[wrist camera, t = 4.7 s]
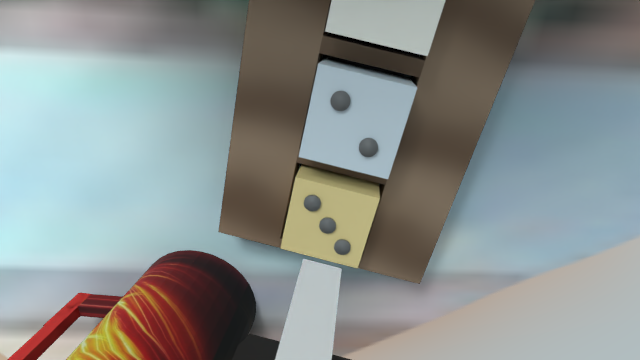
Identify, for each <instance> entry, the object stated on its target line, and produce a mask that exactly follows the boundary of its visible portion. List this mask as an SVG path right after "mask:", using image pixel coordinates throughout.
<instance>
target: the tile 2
mask: <svg viewBox="0 0 640 360" xmlns="http://www.w3.org/2000/svg"><path fill="white" fill-rule="evenodd" d="M445 1H446V0H332V1H331V5H330V10H329V15H328V20H327V24H326V29H325V32H330V33H334V34H338V35H342V36H346V37H350V38H354V39H358V40H363V41H367V42H371V43H375V44H379V45H383V46H387V47H391V48H395V49H400V50H404V51H408V52H412V53H416V54H420V55H424V56H428V53H429V50H430V47H431V44H432V41H433V38H434V35H435V32H436V29H437V25H438V22H439V19H440V16H441V13H442V10H443V7H444V4H445Z"/></svg>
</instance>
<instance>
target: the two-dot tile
mask: <svg viewBox="0 0 640 360" xmlns="http://www.w3.org/2000/svg"><path fill="white" fill-rule="evenodd" d="M416 91H417V87H416V85H415V84H414V83H413V82H412V81H411V79H409V78H405V77H401V76H397V75H392V74H388V73H384V72H380V71H376V70H372V69H368V68H364V67H360V66H356V65H352V64H347V63H343V62H339V61H335V60H331V59H327V58H325V59H324V60H322V61H321V62H320V63H318V67H317V72H316V77H315V81H314V86H313V91H312V95H311V100H310V105H309V110H308V114H307V119H306V124H305V129H304V133H303V138H302V143H301V148H300V152H299V157H301V158H305V159H309V160H313V161H317V162H321V163H325V164H329V165H333V166H337V167H341V168H345V169H349V170H353V171H357V172H361V173H365V174H368V175H372V176H376V177H380V178H384V179H388V178H389V175H390V172H391V169H392V166H393V162H394V159H395V156H396V153H397V150H398V147H399V144H400V141H401V138H402V134H403V131H404V128H405V125H406V122H407V119H408V116H409V113H410V110H411V106H412V103H413V100H414V97H415V94H416Z"/></svg>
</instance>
